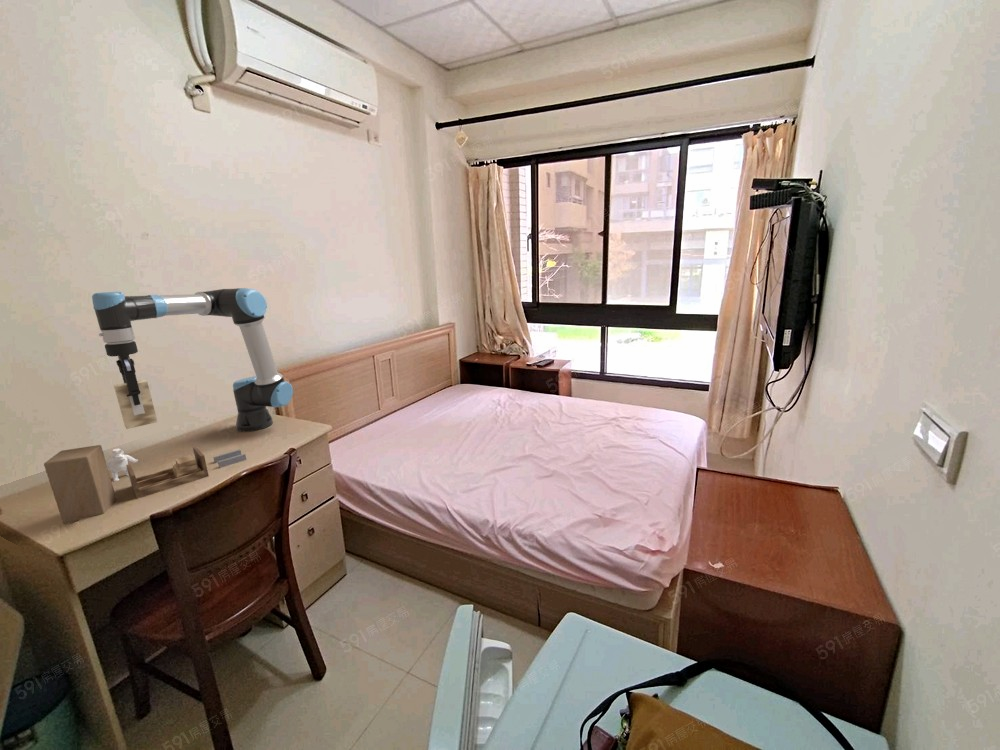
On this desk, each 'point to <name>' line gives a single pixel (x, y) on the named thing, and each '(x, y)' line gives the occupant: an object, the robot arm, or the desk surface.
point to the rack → (165, 478)
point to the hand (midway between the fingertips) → (138, 412)
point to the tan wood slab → (126, 406)
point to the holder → (229, 458)
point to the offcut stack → (185, 466)
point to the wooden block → (80, 483)
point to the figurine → (119, 463)
